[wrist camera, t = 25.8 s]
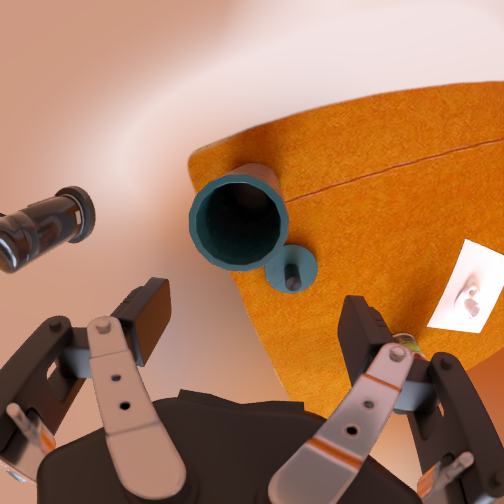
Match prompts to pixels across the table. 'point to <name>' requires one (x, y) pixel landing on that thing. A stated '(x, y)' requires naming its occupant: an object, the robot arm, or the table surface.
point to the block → (251, 195)
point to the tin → (239, 220)
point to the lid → (292, 269)
